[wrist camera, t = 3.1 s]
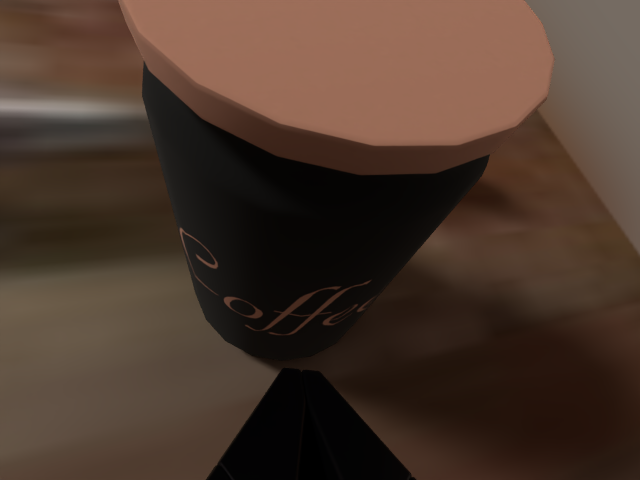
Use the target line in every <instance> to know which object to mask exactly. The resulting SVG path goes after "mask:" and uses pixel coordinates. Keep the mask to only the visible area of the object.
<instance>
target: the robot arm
mask: <svg viewBox="0 0 640 480" xmlns="http://www.w3.org/2000/svg"><path fill="white" fill-rule="evenodd" d="M206 480H416V479H415V478H414V477H411V473H410V472H409V471H408V470H407V469H406V468H405V466H404V465H403V464H402V463H401V462H400V461H399V460H398V459H397V457H396V456H395V455H394V454H393V453H392V452H391V451H390V450H389V448H388V447H387V446H386V445H385V444H384V443H383V442H382V441H381V440H380V438H379V437H378V436H377V435H376V434H375V433H374V432H373V431H372V429H371V428H370V427H369V426H368V425H367V424H366V423H365V422H364V420H363V419H362V418H361V417H360V416H359V415H358V414H357V413H356V411H355V410H354V409H353V408H352V407H351V406H350V405H349V404H348V402H347V401H346V400H345V399H344V398H343V397H342V396H341V395H340V394H339V392H338V391H337V390H336V389H335V388H334V387H333V386H332V385H331V383H330V382H329V381H328V380H327V379H326V378H325V377H324V376H323V374H322V373H321V372H319V371H313V370H303V371H302V372H301V370H299V369H292V368H283V369H282V370H281V372H280V373H279V374H278V376H277V377H276V379H275V380H274V382H273V383H272V385H271V386H270V388H269V389H268V390H267V392H266V393H265V395H264V396H263V398H262V399H261V401H260V402H259V404H258V405H257V406H256V408H255V409H254V411H253V412H252V414H251V415H250V417H249V418H248V420H247V421H246V422H245V424H244V425H243V427H242V428H241V430H240V431H239V433H238V434H237V436H236V437H235V438H234V440H233V441H232V443H231V444H230V446H229V447H228V449H227V450H226V451H225V453H224V454H223V456H222V457H221V459H220V460H219V462H218V464H217V465H216V466H215V467H214V469H213V470H212V471H211V473H210V474H209V476H208V477H207V479H206Z"/></svg>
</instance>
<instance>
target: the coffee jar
mask: <svg viewBox="0 0 640 480" xmlns="http://www.w3.org/2000/svg"><path fill="white" fill-rule="evenodd" d="M118 1H119V4H120V7H121V10H122V12H123V15H124V18H125V21H126V23H127V25H128V27H129V29H130V32H131V34H132V36H133V38H134V40H135V42H136V44H137V46H138V48H139V51H140V53H141V55H142V57H143V59H144V68H143V84H142V97H143V101H144V104H145V108H146V112H147V116H148V119H149V123H150V127H151V130H152V134H153V138H154V141H155V145H156V149H157V152H158V156H159V160H160V164H161V167H162V171H163V175H164V178H165V182H166V186H167V189H168V193H169V197H170V200H171V204H172V208H173V212H174V215H175V219H176V223H177V226H178V230H179V234H180V237H181V241H182V245H183V248H184V252H185V256H186V260H187V263H188V267H189V271H190V274H191V278H192V282H193V285H194V289H195V293H196V296H197V298H198V301H199V303H200V306H201V308H202V310H203V313H204V315H205V318H206V320H207V321H208V322H209V323H210V324H211V325H212V327H213V328H214V329H215V330H216V331H217V332H218V333H219V334H220V335H221V336H222V338H223V339H224V340H225V341H227V342H228V343H230V344H232V345H234V346H236V347H238V348H239V349H241V350H243V351H245V352H247V353H249V354H250V355H253V356H259V357H264V358H270V359H276V360H281V361H282V360H289V359H296V358H302V357H309V356H312V355H314V354H316V353H318V352H320V351H322V350H324V349H326V348H328V347H330V346H332V345H334V344H336V343H337V342H338V341H339V340H340V338H341V337H342V336H343V335H344V334H345V333H346V332H347V331H348V330H349V329H350V328H351V327H352V326H353V325H354V324H355V322H356V321H357V320H358V319H359V318H360V317H361V315H362V314H363V313H364V312H365V311H366V310H367V308H368V307H369V306H370V305H371V304H372V303H373V301H374V300H375V299H376V298H377V297H378V296H379V295H380V293H381V292H382V291H383V290H384V289H385V288H386V286H387V285H388V284H389V283H390V282H391V281H392V279H393V278H394V277H395V276H396V275H397V274H398V272H399V271H400V270H401V269H402V268H403V267H404V266H405V264H406V263H407V262H408V261H409V260H410V259H411V257H412V256H413V255H414V254H415V253H416V252H417V250H418V249H419V248H420V247H421V246H422V245H423V243H424V242H425V241H426V240H427V239H428V238H429V237H430V235H431V234H432V233H433V232H434V231H435V230H436V228H437V227H438V226H439V225H440V224H441V223H442V221H443V220H444V219H445V218H446V217H447V216H448V214H449V213H450V212H451V211H452V210H453V209H454V208H455V206H456V205H457V204H458V203H459V202H460V201H461V199H462V198H463V197H464V196H465V195H466V194H467V192H468V191H469V190H470V189H471V188H472V187H473V186H474V184H475V183H476V182H477V181H478V180H479V179H480V177H481V176H482V174H483V172H484V170H485V168H486V166H487V163H488V160H489V156H490V154H492V153H494V152H495V151H496V150H497V149H498V148H499V147H500V146H501V145H502V144H503V143H504V142H505V141H506V140H507V139H508V138H509V137H510V136H511V135H512V134H513V133H514V132H515V131H516V130H517V129H518V128H519V127H520V126H521V125H522V124H523V123H524V122H525V121H526V120H527V119H528V118H529V117H530V116H531V115H532V114H533V113H534V112H535V111H536V110H537V109H538V108H539V107H540V106H541V105H542V104H543V103H544V102H545V101H546V99H547V96H548V92H549V87H550V81H551V76H552V70H553V65H554V56H553V53H552V50H551V47H550V45H549V42H548V39H547V36H546V33H545V30H544V27H543V24H542V22H541V21H540V20H539V18H538V17H537V16H536V15H535V13H534V12H533V11H532V9H530V7H529V6H528V4H527V3H526V2H525V1H524V0H118Z"/></svg>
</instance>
